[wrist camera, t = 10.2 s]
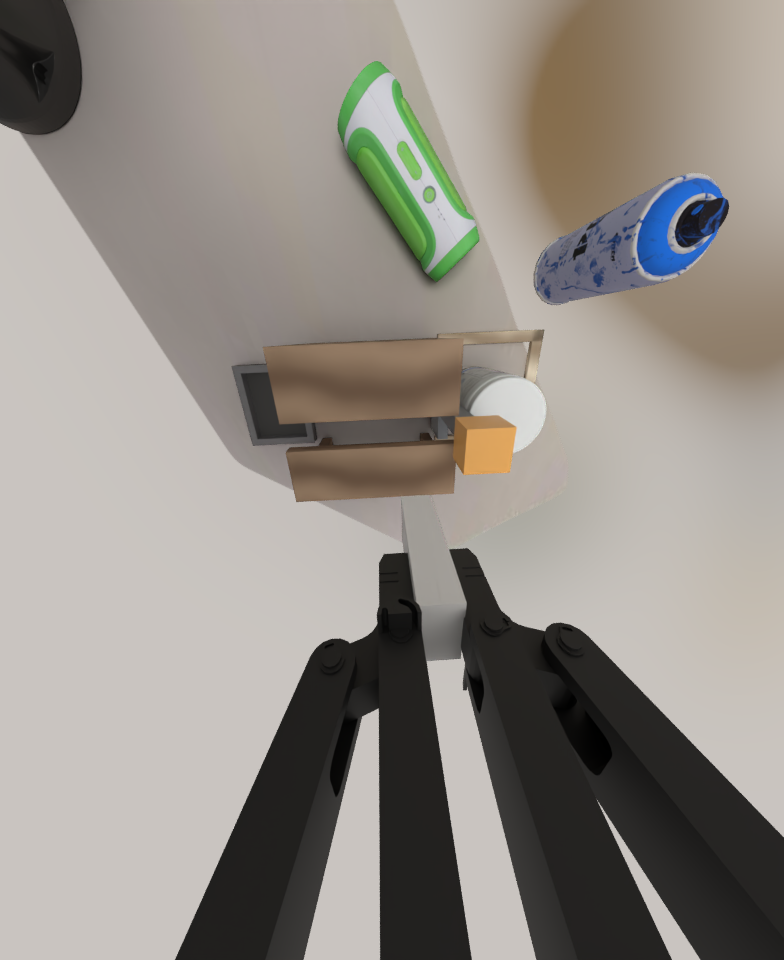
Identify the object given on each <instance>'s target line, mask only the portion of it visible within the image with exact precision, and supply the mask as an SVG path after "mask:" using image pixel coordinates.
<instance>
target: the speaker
mask: <svg viewBox="0 0 784 960" xmlns="http://www.w3.org/2000/svg"><path fill="white" fill-rule="evenodd" d="M338 132H339V135H340V137H341V140H342V142H343V145H344V147H345V149H346V151H347V153H348V156H349V158H350V159H351V160H352V161H353V162H354V163H356V164H357V166H358V169H359V171H360V172H361V174H362V175H363V177H364V178H365V180H366V181H367V183H368V184H369V186H370V187H371V189H372V190H373V192H374V193H375V195H376V196H377V198H378V199H379V201H380V202H381V204H382V205H383V207H384V209H385V210H386V212H387V213H388V215H389V216H390V218H391V219H392V221H393V222H394V224H395V225H396V227H397V228H398V230H399V231H400V233H401V235H402V236H403V238H404V239H405V241H406V242H407V244H408V245H409V247H410V248H411V250H412V251H413V253H414V254H415V256H416V258H417V259H418V260H420V261H421V265H422V269H423V270H424V271H425V272H426V273H427V274H428V275H429V276H430V277H431V278H432V279H433V280H434V281H436V282H438V281H439V280H440V279H441V278H442V277H443V276H444V275H445V274H446V273H447V272H448V271H449V270H450V269H451V268H452V267H453V266H454V265H455V264H456V263H457V262H458V261H459V260H460V259H461V258H462V257H463V256H465V255H466V254H467V253H468V252H469V251H470V250H471V249H472V248H473V247H474V246H475V245H476V244H477V243H478V242H479V234H478V230H477V227H476V224H475V221H474V218H473V216H471V215H470V214H469V213H468V212H467V211H466V207H465V205H464V203H463V202H462V200H461V198H460V196H459V194H458V192H457V191H456V189H455V187H454V185H453V183H452V182H451V180H450V178H449V176H448V174H447V173H446V171H445V169H444V167H443V166H442V164H441V162H440V160H439V158H438V157H437V155H436V153H435V151H434V149H433V147H432V146H431V144H430V142H429V140H428V138H427V137H426V135H425V133H424V131H423V129H422V128H421V126H420V124H419V122H418V120H417V119H416V117H415V115H414V113H413V111H412V110H411V108H410V106H409V104H408V102H407V101H406V99H405V98H403V95H402V91H401V86H400V84H399V82H398V81H397V80H396V78H395V77H394V76H393V75H392V73H391V72H390V71H389V70H388V69H387V68H386V67H385V66H384V65H383V64H382V63H381V62H379V61H375V62H372V63H371V64H369V65H368V66H366V67H365V68H364V69H363V70H362V71H361V73H360V74H359V75H358V77H357V78H356V79H355V81H354V82H353V84H352V86H351V87H350V89H349V91H348V93H347V95H346V97H345V99H344V101H343V104H342V107H341V110H340V114H339V118H338Z"/></svg>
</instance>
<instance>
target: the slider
mask: <svg viewBox="0 0 784 960" xmlns="http://www.w3.org/2000/svg"><path fill="white" fill-rule="evenodd" d="M448 428H449V429H450V430H451V432H452V433H453V434H454V447H453V458H454V460H455V462H456V463H457V465H458V467H459V468H460V470H461V471H462V473H463V475H470V474H489V473H508V472H510V467H511V461H512V454H513V448H514V442H515V436H516V429H517V427H516V426H514V425H513V424H511V423H510V422H508V421H507V420H505V419H503V418H502V417H500V416H499V415H491V416H473V415H472V414H471V413H470V412H468V411H467V410H466V409H465V408H464V407H462V406H461V405H460V404H459V416H440V417H431V429H432V431H433V432H434V434H435V436H436V438H437V439H448Z"/></svg>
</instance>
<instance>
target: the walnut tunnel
mask: <svg viewBox="0 0 784 960" xmlns="http://www.w3.org/2000/svg"><path fill="white" fill-rule="evenodd" d="M463 343H464V338H426V339H403V340H380V341H357V342H334V343H311V344H297V345H284V346H271V347H263V351H264V355H265V360H266V364H267V369H268V373H269V378H270V383H271V387H272V392H273V396H274V401H275V406H276V410H277V415H278V419H279V424H296V423H317V422H337V421H358V420H378V419H399V418H419V417H440V416H459V404H460V389H461V373H462V358H463ZM453 447H454V439H450V440H432V438H431V436H430V434H429V433H421V434H420V441H410V442H391V443H371V444H351V445H333V442H332V438H323V439H322V441H321V443H320V445H319V446H311V447H291V448H289V449H288V450H287V451H286V456H287V461H288V465H289V470H290V475H291V479H292V484H293V488H294V493H295V498H296V502H303V501H323V500H341V499H360V498H378V497H397V496H415V495H434V494H452V493H454V481H455V466H456V462H455V460H454V458H453Z"/></svg>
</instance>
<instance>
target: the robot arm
mask: <svg viewBox="0 0 784 960" xmlns="http://www.w3.org/2000/svg"><path fill="white" fill-rule="evenodd" d="M80 84H81V67H80V57H79V51H78V46H77V41H76V37H75V33H74V30H73V27H72V23H71V21H70V18H69V15H68V12H67V10H66V7H65V5H64V3H63V0H0V123H1V124H3V125H5V126H7V127H9V128H11V129H14V130H17V131H20V132H24V133H30V134H43V133H48V132H51V131H54V130H56V129H58V128H59V127H61V126H62V125H63V124H64V123H65V122H66V121H67V120H68V119H69V118H70V116H71V115H72V113H73V111H74V109H75V107H76V104H77V101H78V97H79V92H80ZM401 508H402V541H403V549H404V553H396V554H384V555H383V557H382V559H381V561H380V563H379V608H378V612H377V622H378V624H377V626H376V627H375V629H374V630H373V632H372V633H370V634H369V635H368V636H366V637H364V638H362V639H360V640H357V641H355V642H353V643H349V642H348V641H345V640H343V639H330V640H328V641H325V642H323V643H322V644H320V645H319V646H318V647H317V648H316V649H315V650H314V652H313V653H312V655H311V656H310V659H309V661H308V663H307V665H306V667H305V670H304V672H303V674H302V676H301V679H300V681H299V683H298V685H297V688H296V690H295V692H294V695H293V697H292V699H291V701H290V703H289V706H288V708H287V710H286V712H285V715H284V717H283V719H282V721H281V724H280V726H279V728H278V730H277V732H276V735H275V737H274V739H273V741H272V744H271V746H270V748H269V750H268V753H267V755H266V757H265V760H264V762H263V764H262V766H261V769H260V771H259V773H258V775H257V777H256V780H255V782H254V784H253V786H252V789H251V791H250V793H249V796H248V798H247V800H246V802H245V804H244V806H243V809H242V811H241V813H240V816H239V818H238V820H237V822H236V824H235V827H234V829H233V831H232V833H231V836H230V838H229V840H228V842H227V845H226V847H225V849H224V851H223V854H222V856H221V858H220V860H219V863H218V865H217V867H216V869H215V871H214V874H213V876H212V878H211V881H210V883H209V885H208V887H207V889H206V892H205V894H204V896H203V899H202V901H201V903H200V905H199V908H198V910H197V912H196V914H195V916H194V919H193V921H192V923H191V925H190V928H189V930H188V932H187V934H186V936H185V939H184V941H183V943H182V945H181V948H180V950H179V952H178V954H177V957H176V959H175V960H303V959H304V955H305V951H306V947H307V943H308V938H309V934H310V929H311V926H312V922H313V918H314V913H315V909H316V905H317V901H318V897H319V892H320V889H321V885H322V881H323V876H324V872H325V868H326V864H327V859H328V856H329V852H330V847H331V843H332V839H333V835H334V831H335V827H336V823H337V818H338V814H339V810H340V806H341V802H342V797H343V793H344V789H345V785H346V781H347V777H348V772H349V769H350V765H351V760H352V756H353V752H354V748H355V744H356V740H357V736H358V731H359V727H360V723H361V719H362V716H364V715H366V714H368V713H370V712H372V711H374V710H376V709H378V708H379V801H380V803H379V809H380V810H379V812H380V813H379V814H380V960H472V958H471V952H470V945H469V939H468V932H467V925H466V919H465V912H464V906H463V899H462V892H461V886H460V880H459V873H458V866H457V860H456V853H455V846H454V840H453V833H452V827H451V820H450V813H449V807H448V801H447V794H446V787H445V782H444V774H443V768H442V761H441V754H440V748H439V741H438V735H437V728H436V722H435V715H434V709H433V702H432V695H431V689H430V682H429V676H428V669H427V662H426V661H433V660H448V659H460V658H461V650H462V653H463V657H464V661H465V670H464V678H463V690H467V687H468V691H469V695H470V699H471V703H472V706H473V711H474V715H475V718H476V722H477V726H478V730H479V734H480V738H481V742H482V746H483V750H484V754H485V758H486V762H487V766H488V770H489V774H490V778H491V782H492V786H493V789H494V794H495V798H496V802H497V805H498V809H499V813H500V817H501V821H502V825H503V829H504V833H505V837H506V841H507V845H508V849H509V853H510V857H511V861H512V865H513V868H514V873H515V877H516V881H517V885H518V888H519V892H520V896H521V900H522V904H523V908H524V912H525V916H526V920H527V924H528V928H529V932H530V936H531V940H532V944H533V948H534V952H535V956H536V959H537V960H672V959H671V957H670V955H669V953H668V951H667V949H666V946H665V944H664V942H663V940H662V938H661V936H660V933H659V931H658V929H657V927H656V925H655V923H654V921H653V919H652V916H651V914H650V912H649V910H648V908H647V906H646V904H645V902H644V900H643V897H642V895H641V893H640V891H639V889H638V887H637V884H636V882H635V880H634V878H633V876H632V874H631V872H630V870H629V867H628V865H627V863H626V861H625V859H624V857H623V855H622V853H621V851H620V849H619V846H618V844H617V842H616V840H615V838H614V836H613V833H612V831H611V829H610V827H609V825H608V823H607V821H606V819H605V816H604V814H603V812H602V810H601V808H600V806H599V804H598V802H599V803H600V805H601V806H602V808H603V809H604V811H605V813H606V814H607V815H608V817H609V819H610V820H611V821H612V823H613V825H614V826H615V828H616V830H617V831H618V832H619V834H620V836H621V837H622V839H623V840H624V842H625V843H626V845H627V846H628V848H629V849H630V851H631V853H632V854H633V856H634V857H635V859H636V860H637V862H638V864H639V865H640V867H641V868H642V870H643V871H644V873H645V874H646V876H647V877H648V879H649V881H650V882H651V883H652V885H653V887H654V888H655V890H656V891H657V893H658V894H659V896H660V898H661V899H662V901H663V902H664V904H665V905H666V907H667V908H668V910H669V911H670V913H671V915H672V916H673V918H674V919H675V921H676V922H677V924H678V925H679V927H680V929H681V930H682V932H683V933H684V935H685V936H686V938H687V939H688V941H689V942H690V944H691V945H692V947H693V949H694V950H695V952H696V953H697V955H698V956H699V958H700V960H784V837H783V836H782V835H781V834H780V833H779V832H778V831H777V830H776V829H775V828H774V827H773V826H772V825H771V824H770V823H769V822H768V821H767V820H766V819H765V818H764V817H763V816H762V815H761V814H760V813H759V812H758V811H757V810H756V809H755V808H754V807H753V806H752V804H751V803H750V802H749V801H748V800H747V799H746V798H745V797H744V796H743V795H742V794H741V793H740V792H739V791H738V790H737V789H736V788H735V787H734V786H733V785H732V784H731V783H730V782H729V781H728V780H727V779H726V778H725V777H724V776H723V775H722V773H720V772H719V770H718V769H717V768H716V767H715V766H714V765H713V764H712V763H711V762H710V761H709V760H708V759H707V758H706V757H705V756H704V755H703V754H702V753H701V752H700V751H699V750H698V749H697V748H696V747H695V746H694V745H693V744H692V743H691V742H690V741H689V740H688V739H687V737H686V736H685V735H684V734H683V733H681V732H680V730H679V729H678V728H677V727H676V726H675V725H674V724H673V723H672V722H671V721H670V720H669V719H668V718H667V717H666V716H665V715H664V714H663V713H662V712H661V711H660V710H659V709H658V708H657V707H656V706H655V705H654V704H653V702H652V701H650V699H649V698H648V697H647V696H646V695H644V694H643V692H642V691H641V690H640V689H639V688H638V687H637V686H636V685H635V684H634V683H633V682H632V681H631V680H630V679H629V678H628V677H627V676H626V675H625V674H624V673H623V672H622V671H621V670H620V669H619V667H617V665H616V664H615V663H614V662H613V661H612V660H611V659H610V658H609V657H608V656H607V655H606V654H605V653H604V652H603V651H602V650H601V649H600V648H599V647H598V646H597V645H596V644H595V643H594V642H593V641H592V640H591V639H590V638H589V637H588V636H587V635H586V634H585V633H583V632H582V631H581V630H580V629H578V628H576V627H574V626H572V625H569V624H564V623H553V624H551V625H550V626H548V627H547V628H546V631H541V630H537V629H533V628H528V627H524V626H521V625H518V624H517V623H515V622H513V621H512V620H511V619H510V618H509V617H508V616H507V615H505V613H503V612H502V611H501V610H500V608H499V606H498V604H497V602H496V600H495V597H494V595H493V593H492V591H491V588H490V586H489V584H488V582H487V579H486V577H485V576H484V573H483V570H482V568H481V566H480V564H479V562H478V559H477V557H476V556H475V555H474V554H473V553H472V552H471V551H470V550H469V549H467V548H465V549H449V548H448V545H447V542H446V539H445V536H444V533H443V530H442V527H441V524H440V521H439V518H438V515H437V512H436V509H435V506H434V503H433V500H432V497H431V495H421V496H404V497H401ZM597 800H598V801H597Z"/></svg>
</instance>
